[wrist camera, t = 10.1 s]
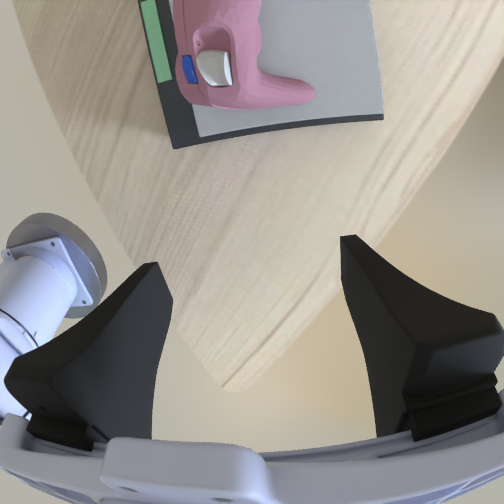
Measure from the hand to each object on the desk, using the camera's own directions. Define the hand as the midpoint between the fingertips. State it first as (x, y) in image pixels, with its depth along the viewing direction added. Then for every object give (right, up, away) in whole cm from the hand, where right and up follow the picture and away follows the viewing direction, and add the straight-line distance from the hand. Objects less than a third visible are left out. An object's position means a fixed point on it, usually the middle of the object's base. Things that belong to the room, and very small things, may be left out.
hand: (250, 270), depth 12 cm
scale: (0, +14, +2) cm, 14 cm away
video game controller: (0, +12, 0) cm, 12 cm away
